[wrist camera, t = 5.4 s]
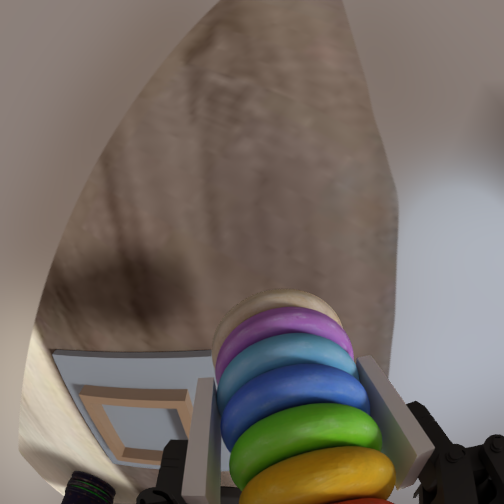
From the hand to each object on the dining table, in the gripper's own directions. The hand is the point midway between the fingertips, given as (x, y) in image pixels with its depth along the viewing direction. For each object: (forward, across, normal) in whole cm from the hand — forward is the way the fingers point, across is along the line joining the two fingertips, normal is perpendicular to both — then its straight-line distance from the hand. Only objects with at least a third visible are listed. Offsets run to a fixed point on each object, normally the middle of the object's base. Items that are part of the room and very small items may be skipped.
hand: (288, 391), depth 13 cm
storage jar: (+16, +37, +41) cm, 58 cm away
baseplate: (+15, +16, +18) cm, 28 cm away
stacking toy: (+5, 0, 0) cm, 5 cm away
